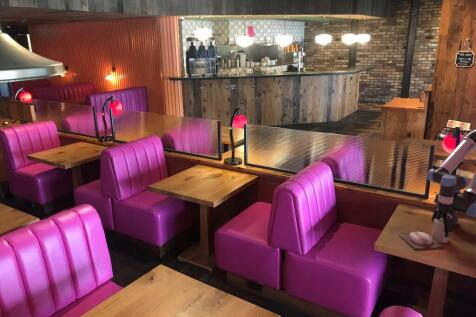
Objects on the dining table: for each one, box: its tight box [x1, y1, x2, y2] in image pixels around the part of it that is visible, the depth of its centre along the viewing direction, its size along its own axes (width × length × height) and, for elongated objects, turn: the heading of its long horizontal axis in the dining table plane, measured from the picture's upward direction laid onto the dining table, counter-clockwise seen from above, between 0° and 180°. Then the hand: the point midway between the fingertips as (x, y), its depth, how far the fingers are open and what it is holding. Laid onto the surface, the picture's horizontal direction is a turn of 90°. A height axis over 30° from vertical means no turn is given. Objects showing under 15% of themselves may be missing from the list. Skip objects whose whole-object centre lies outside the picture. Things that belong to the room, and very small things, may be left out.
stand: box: [398, 231, 444, 251], centre depth 230 cm, size 17×17×4 cm
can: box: [431, 218, 451, 244], centre depth 232 cm, size 9×9×12 cm
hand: (439, 237), depth 233 cm, fingers closed on can, 9 cm apart
